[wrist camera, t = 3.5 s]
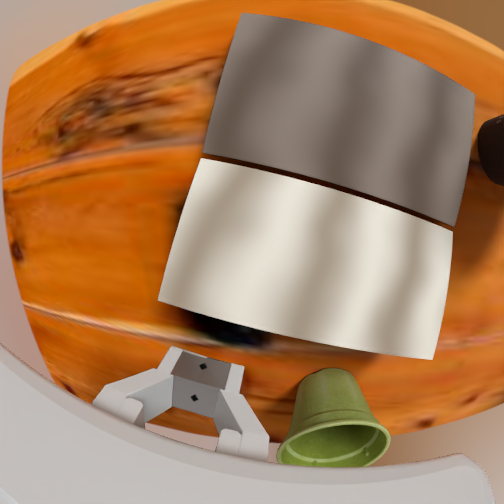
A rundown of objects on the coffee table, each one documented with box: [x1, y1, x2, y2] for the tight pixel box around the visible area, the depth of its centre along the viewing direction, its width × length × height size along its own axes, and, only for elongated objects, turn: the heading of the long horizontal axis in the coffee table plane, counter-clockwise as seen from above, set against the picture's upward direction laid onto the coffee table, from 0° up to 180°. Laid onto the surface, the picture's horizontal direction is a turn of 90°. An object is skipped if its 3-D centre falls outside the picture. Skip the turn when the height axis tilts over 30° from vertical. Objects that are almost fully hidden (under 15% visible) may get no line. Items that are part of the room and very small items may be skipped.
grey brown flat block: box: [202, 13, 475, 227], centre depth 17 cm, size 20×12×2 cm, turn 77°
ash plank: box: [158, 158, 453, 360], centre depth 18 cm, size 20×10×2 cm, turn 77°
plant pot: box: [276, 368, 390, 467], centre depth 20 cm, size 9×9×9 cm
